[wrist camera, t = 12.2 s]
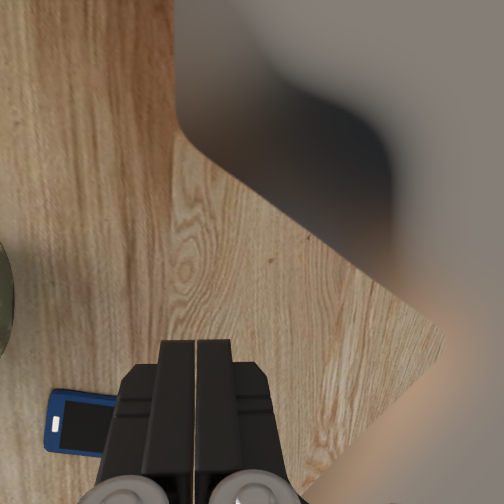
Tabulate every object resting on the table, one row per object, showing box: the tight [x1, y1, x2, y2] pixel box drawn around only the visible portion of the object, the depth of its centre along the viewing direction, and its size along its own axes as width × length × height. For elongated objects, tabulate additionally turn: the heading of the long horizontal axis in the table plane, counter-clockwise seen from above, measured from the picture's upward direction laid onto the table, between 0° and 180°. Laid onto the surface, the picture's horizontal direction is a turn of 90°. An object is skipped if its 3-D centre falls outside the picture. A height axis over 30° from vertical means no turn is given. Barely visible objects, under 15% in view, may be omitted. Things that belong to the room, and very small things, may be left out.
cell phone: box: [44, 390, 117, 458], centre depth 46 cm, size 7×14×1 cm, turn 76°
